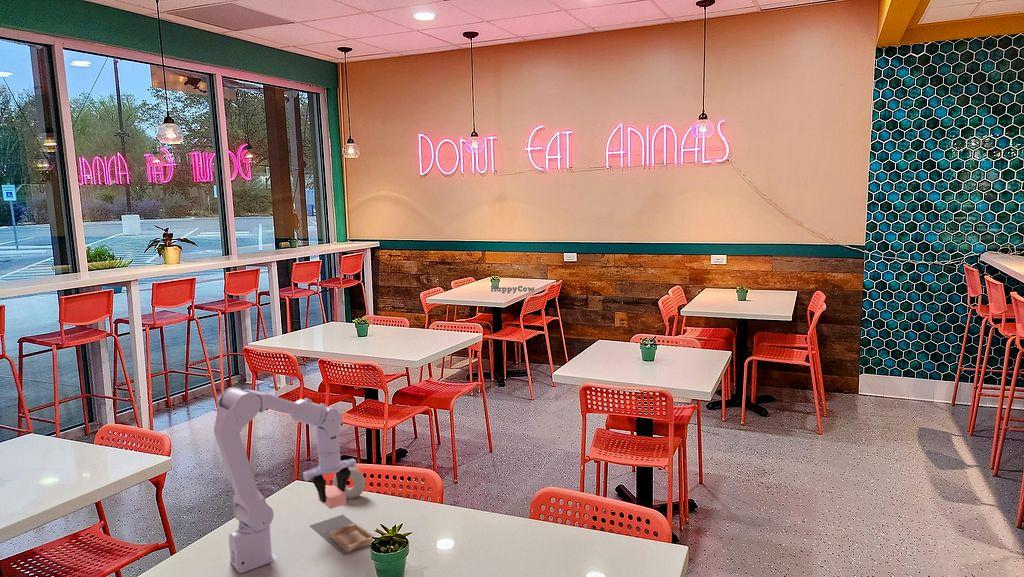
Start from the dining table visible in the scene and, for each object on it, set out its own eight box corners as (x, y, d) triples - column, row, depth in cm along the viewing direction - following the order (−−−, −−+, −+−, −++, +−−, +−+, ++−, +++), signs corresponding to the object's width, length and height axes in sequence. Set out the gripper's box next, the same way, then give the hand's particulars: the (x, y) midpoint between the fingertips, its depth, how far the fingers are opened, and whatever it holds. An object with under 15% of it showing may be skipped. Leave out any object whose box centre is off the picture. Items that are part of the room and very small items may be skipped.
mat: (344, 557, 169) (344, 555, 169) (309, 527, 186) (309, 525, 186) (379, 544, 175) (379, 542, 175) (342, 516, 192) (342, 514, 192)
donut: (367, 496, 206) (365, 464, 205) (364, 501, 202) (362, 469, 201) (336, 496, 207) (334, 464, 206) (332, 500, 203) (329, 469, 202)
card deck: (318, 500, 186) (318, 489, 186) (334, 495, 189) (333, 485, 188) (330, 509, 180) (329, 498, 180) (346, 503, 183) (345, 493, 183)
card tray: (347, 553, 170) (346, 547, 170) (329, 538, 179) (328, 532, 178) (374, 542, 175) (374, 537, 175) (356, 528, 183) (355, 523, 183)
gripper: (309, 461, 175) (312, 511, 177) (360, 447, 184) (363, 495, 186) (298, 454, 181) (302, 502, 182) (348, 441, 190) (351, 487, 191)
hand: (332, 498), depth 184 cm, fingers closed on card deck, 5 cm apart
